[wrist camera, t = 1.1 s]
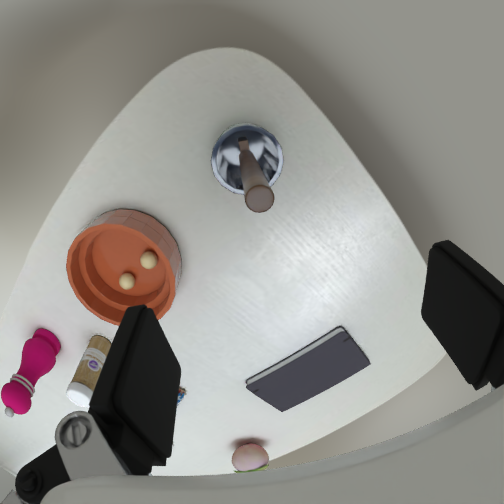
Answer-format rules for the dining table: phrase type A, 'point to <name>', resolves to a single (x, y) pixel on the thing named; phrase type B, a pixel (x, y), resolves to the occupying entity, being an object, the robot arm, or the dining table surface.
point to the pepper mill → (30, 371)
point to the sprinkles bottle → (88, 371)
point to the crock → (228, 153)
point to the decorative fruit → (250, 458)
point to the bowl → (123, 265)
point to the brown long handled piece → (254, 180)
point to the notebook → (309, 370)
